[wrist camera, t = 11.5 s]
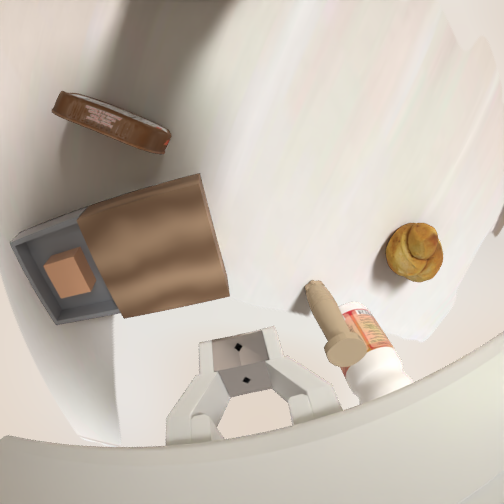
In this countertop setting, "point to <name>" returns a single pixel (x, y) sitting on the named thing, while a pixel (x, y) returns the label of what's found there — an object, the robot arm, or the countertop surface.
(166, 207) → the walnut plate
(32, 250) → the box
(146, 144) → the tin
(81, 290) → the terracotta block
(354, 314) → the fruit juice
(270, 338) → the robot arm
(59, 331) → the countertop surface
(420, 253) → the bread roll
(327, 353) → the handle
